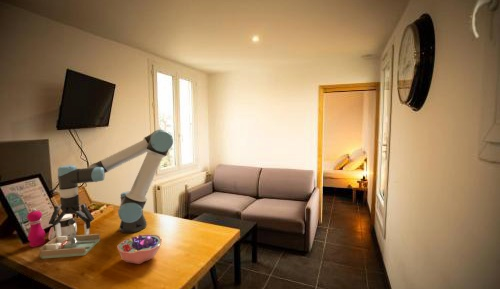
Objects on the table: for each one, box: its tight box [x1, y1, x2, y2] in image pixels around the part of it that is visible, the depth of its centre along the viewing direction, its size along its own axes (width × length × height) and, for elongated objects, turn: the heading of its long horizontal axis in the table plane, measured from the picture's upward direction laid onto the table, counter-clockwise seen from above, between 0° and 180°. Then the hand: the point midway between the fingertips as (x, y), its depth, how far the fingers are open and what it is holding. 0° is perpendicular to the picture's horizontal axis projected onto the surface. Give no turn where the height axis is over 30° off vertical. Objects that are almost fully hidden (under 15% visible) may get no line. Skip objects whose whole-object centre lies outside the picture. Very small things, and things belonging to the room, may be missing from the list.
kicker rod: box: [61, 218, 80, 249], centre depth 121 cm, size 7×4×15 cm, turn 97°
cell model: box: [116, 233, 163, 265], centre depth 111 cm, size 17×20×11 cm
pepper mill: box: [26, 207, 46, 248], centre depth 126 cm, size 7×7×20 cm
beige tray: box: [38, 233, 101, 260], centre depth 122 cm, size 20×15×5 cm
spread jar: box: [47, 214, 78, 241], centre depth 134 cm, size 12×11×12 cm
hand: (73, 235), depth 121 cm, fingers open, 13 cm apart
